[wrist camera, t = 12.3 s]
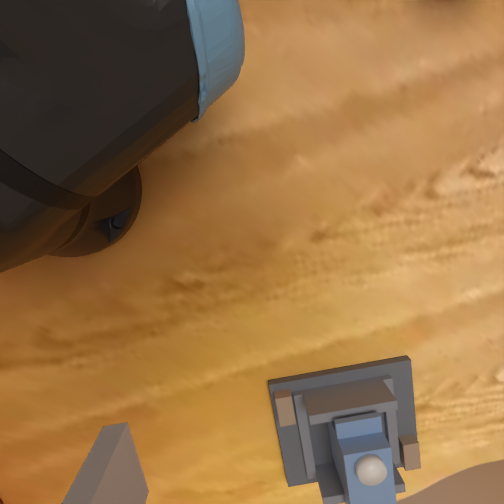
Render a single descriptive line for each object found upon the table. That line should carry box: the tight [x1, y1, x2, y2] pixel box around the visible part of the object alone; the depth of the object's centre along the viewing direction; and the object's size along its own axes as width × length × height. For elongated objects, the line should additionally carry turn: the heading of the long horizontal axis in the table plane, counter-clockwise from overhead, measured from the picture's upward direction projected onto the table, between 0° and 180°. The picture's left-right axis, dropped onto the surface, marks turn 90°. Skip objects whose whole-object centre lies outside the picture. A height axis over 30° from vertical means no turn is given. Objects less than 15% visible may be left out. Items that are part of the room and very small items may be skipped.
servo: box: [327, 412, 396, 504], centre depth 39 cm, size 5×12×9 cm, turn 10°
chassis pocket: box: [268, 356, 421, 504], centre depth 41 cm, size 18×16×6 cm
